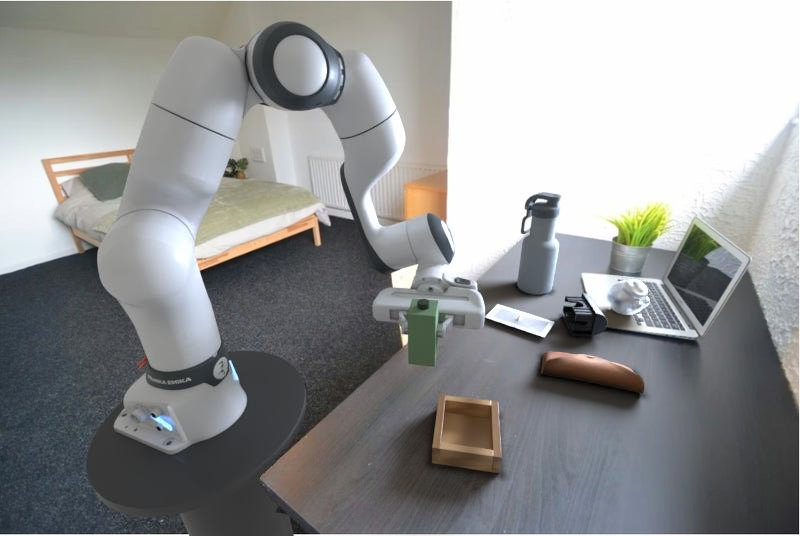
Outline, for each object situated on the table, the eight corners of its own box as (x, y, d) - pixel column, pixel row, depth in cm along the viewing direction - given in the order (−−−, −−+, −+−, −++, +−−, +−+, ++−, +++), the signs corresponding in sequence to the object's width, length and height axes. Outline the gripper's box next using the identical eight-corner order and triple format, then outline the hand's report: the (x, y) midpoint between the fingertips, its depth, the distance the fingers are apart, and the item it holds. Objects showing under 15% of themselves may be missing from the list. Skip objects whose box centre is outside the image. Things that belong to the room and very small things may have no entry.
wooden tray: (431, 463, 59) (432, 447, 57) (438, 408, 69) (439, 394, 68) (499, 473, 57) (501, 457, 56) (496, 415, 67) (498, 401, 66)
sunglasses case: (633, 367, 77) (644, 354, 72) (635, 400, 74) (647, 390, 68) (541, 351, 83) (545, 338, 77) (539, 381, 79) (542, 370, 74)
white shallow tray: (497, 307, 101) (498, 300, 100) (554, 325, 92) (555, 318, 91) (484, 320, 95) (485, 313, 94) (543, 341, 87) (545, 333, 86)
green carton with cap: (408, 364, 63) (407, 308, 58) (412, 346, 68) (412, 293, 63) (434, 366, 62) (435, 310, 58) (437, 348, 67) (438, 295, 62)
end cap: (604, 339, 87) (610, 314, 84) (572, 337, 88) (577, 312, 85) (589, 315, 96) (595, 292, 93) (561, 314, 97) (565, 291, 94)
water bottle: (509, 287, 111) (520, 194, 99) (526, 276, 117) (539, 188, 105) (540, 299, 104) (556, 201, 92) (557, 287, 110) (574, 194, 98)
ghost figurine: (610, 321, 93) (619, 286, 89) (599, 302, 102) (607, 269, 98) (650, 324, 92) (661, 288, 88) (635, 305, 100) (644, 271, 96)
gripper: (380, 275, 75) (361, 311, 62) (485, 282, 71) (486, 322, 59) (381, 302, 77) (363, 342, 65) (482, 310, 74) (483, 354, 61)
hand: (423, 332), depth 62 cm, fingers closed on green carton with cap, 4 cm apart
